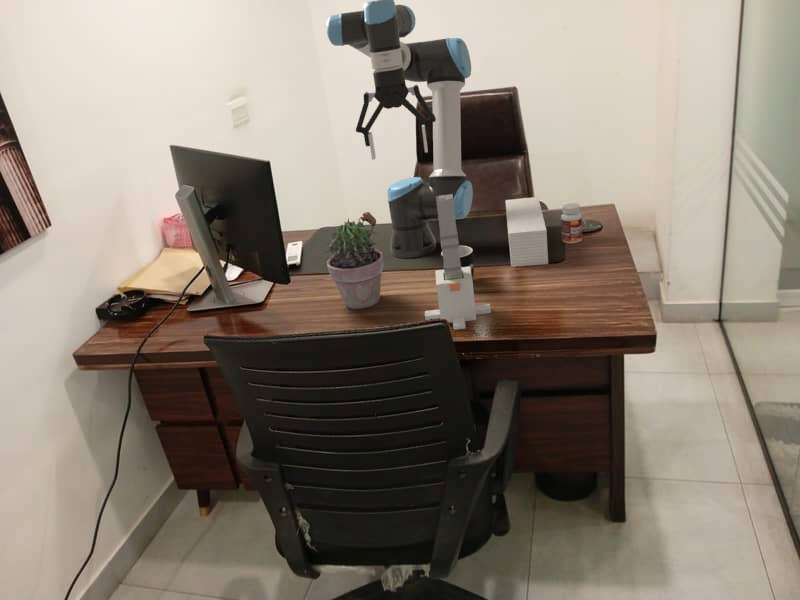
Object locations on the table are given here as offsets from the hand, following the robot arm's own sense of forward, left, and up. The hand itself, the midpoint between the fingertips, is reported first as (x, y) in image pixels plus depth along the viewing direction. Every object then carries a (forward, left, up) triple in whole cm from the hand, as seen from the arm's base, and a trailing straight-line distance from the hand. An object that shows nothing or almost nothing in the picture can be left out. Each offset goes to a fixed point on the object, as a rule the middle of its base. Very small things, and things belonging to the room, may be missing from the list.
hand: (400, 155), depth 172 cm
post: (+15, +10, -33) cm, 37 cm away
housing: (+15, +10, -40) cm, 44 cm away
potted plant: (+1, -17, -40) cm, 43 cm away
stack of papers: (-27, +34, -40) cm, 59 cm away
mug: (-5, +12, -40) cm, 42 cm away
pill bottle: (-27, +48, -40) cm, 68 cm away
